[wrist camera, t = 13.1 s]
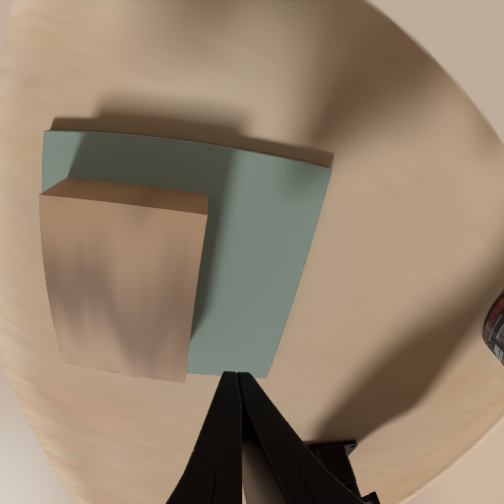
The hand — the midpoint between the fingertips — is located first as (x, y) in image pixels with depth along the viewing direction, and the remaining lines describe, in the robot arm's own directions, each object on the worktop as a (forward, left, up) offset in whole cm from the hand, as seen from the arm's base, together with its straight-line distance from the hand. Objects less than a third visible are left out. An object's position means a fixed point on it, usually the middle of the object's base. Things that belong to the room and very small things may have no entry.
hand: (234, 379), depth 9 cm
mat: (0, +3, -6) cm, 6 cm away
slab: (0, +1, -4) cm, 4 cm away
